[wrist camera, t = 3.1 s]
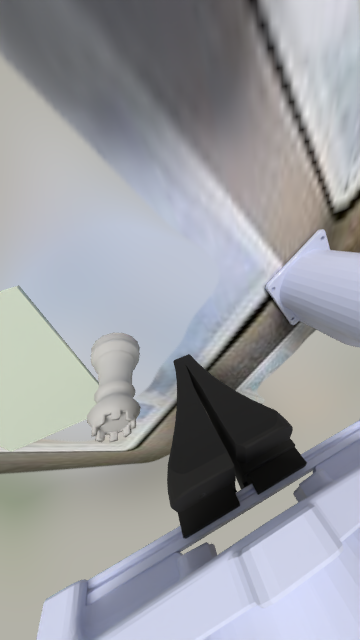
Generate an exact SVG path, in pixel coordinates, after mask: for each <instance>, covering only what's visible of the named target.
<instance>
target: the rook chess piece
mask: <svg viewBox="0 0 360 640" xmlns="http://www.w3.org/2000/svg"><path fill="white" fill-rule="evenodd" d="M139 354H140V353H139V345H138V342H137V341H136V340H135V339H134V338H133V337H132V336H130V335H127V334H124V333H111V334H107V335H104V336H102V337H101V338H99V339H98V340H97V341H95V343H94V345H93V347H92V354H91V363H92V366H93V367H94V369H95V371H96V372H97V374H98V380H99V387H98V390H97V391H96V393H95V394H94V401H95V402H96V403H97V404H96V405H95V406H94V407H93V408H92V409H91V410H90V412H89V413H88V415H87V423H88V424H89V425H90V426H91V427H92V436H96V438H95V441H99V442H102V441H103V440H104V439H105V435H110V440H109V442H113V441H118V433H119V432H122V431H123V436H124V437H127V436H128V435H129V434H131V429H133V428H135V427H136V418H137V417H138V415H139V413H140V406H139V404H138V402H137V401H135V400H134V399H133V397H134V395H135V389H134V387H133V385H132V372H133V370H134V369H135V366H136V365H137V363H138V361H139Z"/></svg>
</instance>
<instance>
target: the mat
mask: <svg viewBox="0 0 360 640" xmlns="http://www.w3.org/2000/svg"><path fill="white" fill-rule="evenodd" d="M98 387H99V382H98V381H97V380H96V379H95V377H94V376H93V375H92V374H91V373H90V371H89V370H88V369H87V368H86V367H85V365H84V364H83V363H82V362H81V361H80V359H79V358H78V357H77V356H76V354H75V353H74V352H73V351H72V350H71V348H70V347H69V346H68V345H67V343H66V342H65V341H64V340H63V339H62V337H61V336H60V335H59V334H58V333H57V331H56V330H55V329H54V328H53V326H52V325H51V324H50V323H49V322H48V320H47V319H46V318H45V317H44V316H43V314H42V313H41V312H40V311H39V309H38V308H37V307H36V306H35V305H34V304H33V302H32V301H31V300H30V299H29V297H28V296H27V295H26V294H25V293H24V291H23V290H22V289H21V288H20V286H16V287H12V288H9V289H6V290H2V291H0V447H1V448H4V449H6V450H8V451H10V452H12V451H15V450H17V449H19V448H21V447H24V446H26V445H28V444H31V443H33V442H35V441H38V440H40V439H42V438H44V437H47V436H49V435H51V434H54V433H56V432H58V431H61V430H63V429H65V428H67V427H70V426H72V425H74V424H77V423H79V422H81V421H83V420H86V419H87V415H88V413H89V412H90V410H91V409H92V408H93V407H94V406H95V405H96V404H97V403H96V402H95V401H94V394H95V393H96V391H97V390H98Z"/></svg>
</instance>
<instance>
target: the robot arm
mask: <svg viewBox="0 0 360 640" xmlns="http://www.w3.org/2000/svg"><path fill="white" fill-rule="evenodd" d="M266 290H267V291H268V293H269V294H270V296H271V297H272V298H273V300H274V301H275V303H276V304H277V305H278V307H279V308H280V310H281V311H282V313H283V314H284V315H285V317H286V318H287V320H288V321H289V323H290V324H292V325H295V324H296V323H297V322H298V321H301V322H303V323H305V324H307V325H309V326H311V327H313V328H315V329H317V330H319V331H321V332H323V333H324V334H326V335H328V336H330V337H332V338H334V339H336V340H338V341H340V342H342V343H344V344H347V345H351V346H355V347H360V253H354V252H344V251H334V250H330V248H329V244H328V241H327V237H326V233H325V230H318V231H317V232H316V233H315V234H314V235H313V236H312V237H311V238H310V239H309V240H308V241H307V242H306V243H305V244H304V245H303V246H302V248H301V249H300V250H299V251H298V252H297V253H296V254H295V255H294V256H293V257H292V258H291V259H290V260H289V261H288V262H287V263H286V264H285V265H284V266H283V268H282V269H281V270H280V271H279V272H278V273H277V274H276V275H275V276H274V277H273V278H272V279H271V280H270V281H269V282H268V283H267V285H266ZM174 365H175V370H176V378H177V411H176V421H175V429H174V435H173V442H172V447H171V452H170V457H169V462H168V478H167V481H168V482H167V484H168V495H169V500H170V505H171V508H172V509H174V510H175V511H176V512H178V516H179V521H180V525H181V526H179V527H177V528H176V529H174V530H172V531H170V532H169V533H167V534H165V535H164V536H162V537H160V538H159V539H157V540H155V541H154V542H152V543H150V544H148V545H147V546H145V547H143V548H142V549H140V550H138V551H137V552H135V553H133V554H132V555H130V556H128V557H126V558H125V559H123V560H121V561H120V562H118V563H116V564H114V565H113V566H111V567H109V568H108V569H106V570H105V571H103V572H101V573H99V574H98V575H96V576H94V577H92V578H91V579H89V580H80V581H78V582H75V583H73V584H71V585H69V586H68V587H66V588H64V589H63V590H61V591H59V592H57V593H56V594H54V595H52V596H50V597H49V598H47V599H46V600H45V602H44V605H43V609H42V614H41V619H40V624H39V629H38V634H37V639H36V640H360V420H359V421H357V422H355V423H354V424H352V425H350V426H349V427H347V428H345V429H343V430H342V431H340V432H338V433H337V434H335V435H333V436H332V437H330V438H328V439H327V440H325V441H323V442H321V443H320V444H318V445H316V446H315V447H313V448H311V449H310V450H308V451H306V452H304V453H303V454H300V453H299V452H298V451H297V449H296V448H295V444H294V443H293V441H292V440H291V439H290V436H291V434H292V426H291V425H290V424H289V423H288V421H287V420H286V419H284V417H282V416H281V415H280V414H279V413H278V412H277V411H275V410H274V409H271V408H268V407H266V406H264V405H262V404H260V403H258V402H255V401H253V400H251V399H249V398H247V397H246V396H244V395H242V394H240V393H238V392H236V391H235V390H233V389H231V388H230V387H228V386H227V385H225V384H224V383H222V382H221V381H219V380H218V379H216V378H215V377H214V376H212V375H211V374H210V373H209V372H207V371H206V370H205V369H204V368H203V367H202V366H201V365H199V364H198V363H197V362H196V361H195V360H194V359H193V357H192V356H191V355H189V354H188V355H186V356H184V357H181V358H179V359H176V360H174ZM203 406H204V407H203ZM204 408H205V409H204ZM205 410H206V411H205ZM206 412H207V413H206ZM207 414H208V415H207ZM208 416H209V417H208ZM209 418H210V419H209ZM311 471H313V474H312V475H311V476H309V477H308V478H307V479H306V480H304V481H303V482H302V483H300V484H299V487H298V488H297V490H295V491H294V496H295V497H296V499H297V500H298V503H297V504H296V505H294V506H292V507H290V508H289V509H287V510H286V511H284V512H282V513H281V514H279V515H278V516H276V517H275V518H273V519H271V520H270V521H268V522H267V523H265V524H264V525H262V526H261V527H259V528H258V529H256V530H254V531H253V532H251V533H250V534H248V535H247V536H245V537H244V538H243V539H241V540H239V541H238V542H236V543H235V544H233V545H232V546H230V547H229V548H228V549H226V550H225V551H223V552H222V553H220V554H219V555H217V553H216V549H215V546H214V545H213V544H208V543H207V542H206V543H204V544H202V545H200V546H198V547H196V548H195V549H193V550H191V551H189V552H187V553H186V554H184V555H183V554H182V553H180V552H181V551H183V550H184V549H186V548H188V547H189V546H191V545H192V544H194V543H196V542H197V541H199V540H201V539H202V538H204V537H205V536H207V535H209V534H210V533H212V532H214V531H215V530H217V529H218V528H220V527H222V526H223V525H225V524H227V523H228V522H230V521H231V520H233V519H235V518H236V517H238V516H240V515H241V514H243V513H244V512H246V511H248V510H249V509H251V508H253V507H254V506H256V505H257V504H259V503H261V502H262V501H264V500H266V499H267V498H269V497H270V496H272V495H274V494H275V493H277V492H278V491H280V490H282V489H283V488H285V487H286V486H288V485H290V484H291V483H293V482H295V481H296V480H298V479H300V478H301V477H303V476H304V475H306V474H308V473H309V472H311ZM235 476H236V478H237V481H238V483H239V485H240V488H241V490H240V491H239V492H237V491H236V488H235ZM236 492H237V493H236Z"/></svg>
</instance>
